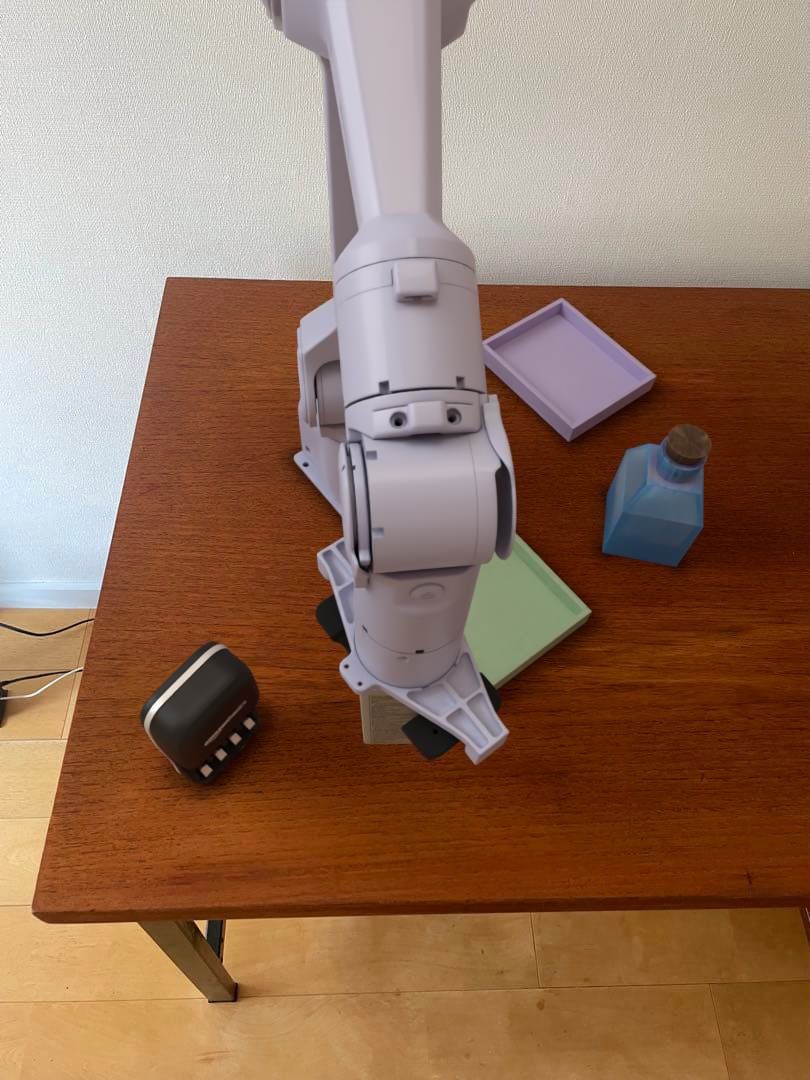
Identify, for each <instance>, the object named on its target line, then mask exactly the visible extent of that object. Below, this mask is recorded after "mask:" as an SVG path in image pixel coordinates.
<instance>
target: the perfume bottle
mask: <svg viewBox="0 0 810 1080" xmlns="http://www.w3.org/2000/svg"><path fill="white" fill-rule="evenodd" d="M711 449H712V441H711V438H710V437H709V435H708V434H707V433H706V432H705V431H704V430H703V429H702V428H700V427H699V426H695V425H693V424H684V423H683V424H677V425H676V426H674V427H672V428H671V429H670V431H669V432H668V435H667V436H666V437H664V438H663V440H662V441H661V443H660V444H654V443H646V444H643V445H642V444H641V445H639V446H636V447H632V448H628V449H626V451H625V453H624V456H623V457H622V460H621V462H620V465H619V466H618V469H617V471H616V473H615V475H614V477H613V480H612V482H611V484H610V487H608V491H607V493H606V505H605V516H604V525H603V526H604V528H603V539H602V548H601V549H602V551H601V553H603V554H608V555H614V556H618V557H623V558H629V559H633V560H639V561H644V562H649V563H655V564H659V565H664V566H665V565H666V566H669V567H675V568H676V567H678V565H679V564H680V562H681V561H682V559H683V558H684V556H685V555H686V554H687V551H688V550H689V549H690V547H691V546H692V544H693V543H694V541H695V540H696V538H697V537H698V536H699V534H700V533H701V531H702V530H703V528H704V482H705V481H704V476H705V475H704V466H705V464H706V462H707V458H708V454H709V453H710V452H711Z"/></svg>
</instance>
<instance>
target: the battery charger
mask: <svg viewBox="0 0 810 1080" xmlns="http://www.w3.org/2000/svg"><path fill="white" fill-rule="evenodd" d="M260 695H261V693H260V689H259V686H258V683H257V681H256V678H255V676H254V674H253V672H252V670H251V668H250V667H249V666H248V665H247V664H246V663H245V662H244V661H243V660H241V659H240V658H239V657H238V656H237V655H235V654H234V653H233V652H232V650H231V649H230V648H229V647H227V646H226V645H225V644H223V643H220V642H219V641H213V640H211V641H207V642H205V643H204V644H202V645H201V646H199V647H198V648H197V649H196V650H195V651H194V652H193V653H192V654H190V656H189V657H188V658H186V660H185V661H184V662H183V663H182V664H180V666H178V668H177V669H175V670H174V671H173V673H171V674H170V675H169V677H167V678H166V680H164V681H163V683H161V685H160V686H159V687H158V688H157V689H155V691H154V692H153V693H152V694H151V695H150V696H149V697H148V698H147V699H146V701H145V702H144V704H143V705H142V708H141V710H140V714H139V720H140V723H141V726H142V728H143V730H144V731H145V733H146V734H147V736H148V737H149V739H150V740H151V741H152V743H153V744H154V746H155V747H156V748H157V749H158V750H159V751H160V752H161V753H162V754H163V755H164V757H166V758H167V759H168V760H169V761H170V763H171V765H172V767H174V769H175V771H176V772H177V773H178V774H179V775H180V776H181V775H183V777H184V778H186V779H187V780H188V781H190V782H193V783H194V784H198V785H208V784H210V783H211V782H213V781H214V780H215V779H217V777H218V776H219V775H221V773H222V772H223V771H224V770H225V769H226V768H227V766H228V765H229V764H230V763H231V762H232V761H233V760H234V759H235V757H236V756H237V755H238V754H239V753H240V752H241V751H242V750H243V749H244V748H245V747H246V745H247V744H248V743H249V742H250V741H251V740H252V739H253V737H254V736H255V735H256V734H257V733H258V731H259V729H260V727H261V722H262V721H261V717H260V714H259V712H258V710H257V709H256V706H257V704H258V703H259V701H260Z"/></svg>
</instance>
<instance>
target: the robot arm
mask: <svg viewBox="0 0 810 1080" xmlns="http://www.w3.org/2000/svg"><path fill="white" fill-rule="evenodd" d="M476 1H477V0H261V4H262V5H263V6H264V7H265V12H266V13H265V14H266V16H267V17H268V18H269V20H272V24H273V28H274V30H276V31H278V32H282V33H283V36H284V38H286V39H287V40H289V41H291V42H293V43H295V44H297V45H298V46H299V47H302V48H304V49H306V50H308V51H310V52H312V53H314V56H315V57H316V59H317V62H318V64H319V66H320V69H321V80H322V100H323V117H324V118H323V121H324V141H325V158H326V178H327V179H326V180H327V201H328V216H329V237H330V256H331V257H330V258H331V276H332V279H331V280H332V295H333V296H332V298H330V299H328V300H327V301H326V302H324V303H322V304H321V305H320V306H318V307H316V308H315V309H313V310H312V311H310V312H309V313H307V314H305V315H304V316H303V317H301V318H300V320H299V326H298V328H297V329H296V337H297V349H296V356H297V357H296V358H297V371H298V382H299V393H300V398H299V401H298V406H297V415H298V425H299V433H300V434H299V435H300V443H301V451H298V452H297V453H295V454H294V456H293V461H294V463H295V464H296V466H298V468H299V469H300V470H301V471H302V473H304V475H305V476H306V477H307V478H308V479H309V480H310V482H311V483H312V484H313V485H314V486H315V488H316V489H317V490H318V491H319V492H320V493H321V494H322V496H323V497H324V498H325V499H326V500H327V502H328V503H329V504H330V505H331V506H332V507H333V508H334V510H335V511H336V512H337V513H338V514H339V515H340V517H341V521H342V534H343V537H341V538H339V539H338V540H336V541H334V542H333V543H331V544H330V545H328V546H327V547H325V548H323V549H321V550H320V551H318V552H317V553H316V559H317V569H318V571H319V573H320V574H321V575H322V576H323V578H324V579H325V580H326V581H328V582H329V583H330V585H331V588H332V594H331V595H330V596H328V597H326V598H325V599H323V600H321V602H319V603H318V605H317V606H316V609H315V620H316V622H317V623H318V624H319V626H320V627H321V628H322V630H323V631H324V632H325V634H326V635H327V636H328V637H329V639H330V640H331V641H332V642H333V643H337V644H339V645H341V646H343V648H344V649H345V651H346V653H347V656H346V657H345V658H343V659H342V660H341V662H340V663H339V667H338V668H339V673H340V676H341V678H342V679H343V680H344V681H345V683H346V684H347V685H348V687H349V688H350V689H351V690H352V692H353V693H354V694H356V695H358V696H360V695H364V694H366V693H368V692H369V691H371V690H373V689H380V690H382V691H384V692H385V693H387V694H388V695H390V696H392V697H393V698H395V699H396V700H398V701H400V702H401V703H403V704H404V705H406V706H408V707H409V708H411V709H412V710H414V711H416V712H417V713H419V714H418V715H417V716H415V717H414V718H413V719H411V720H410V721H409V722H407V723H406V724H405V725H403V726H402V727H401V730H402V731H403V732H404V734H405V735H406V736H407V738H408V739H409V740H410V741H411V743H410V744H412V745H413V747H414V748H415V749H416V751H417V752H418V753H419V755H421V756H422V757H423V758H424V759H426V760H427V761H433V760H436V759H439V758H440V757H442V756H443V755H445V754H446V753H447V752H449V751H450V750H451V749H453V748H454V747H455V746H457V745H458V744H459V743H461V742H462V743H463V744H464V745H465V747H464V752H465V753H466V755H467V757H468V758H469V760H470V761H471V762H472V763H473V764H474V765H475V766H477V765H479V764H480V763H481V762H483V761H484V760H485V759H487V758H488V757H489V756H490V755H492V754H493V753H494V752H495V751H496V750H498V749H499V748H501V747H502V746H503V745H504V744H505V742H506V740H507V738H508V736H509V734H510V730H509V729H508V728H507V727H506V725H505V724H504V723H503V721H502V720H501V718H500V717H499V715H498V713H499V711H500V710H501V706H502V697H501V694H500V692H499V691H498V689H496V688H495V687H494V686H493V685H492V684H491V682H490V681H489V680H488V679H487V678H486V677H485V675H484V674H483V673H481V672H479V670H478V668H477V665H476V663H475V660H474V657H473V655H472V652H471V649H470V647H469V644H468V642H467V639H466V636H465V634H464V629H465V625H466V621H467V618H468V614H469V610H470V606H471V602H472V598H473V594H474V591H475V587H476V583H477V579H478V575H479V571H480V567H481V564H488V563H489V562H490V561H491V559H492V557H493V554H494V551H495V553H496V555H497V556H498V557H499V558H500V559H501V560H507V559H508V558H509V556H510V554H511V552H512V549H513V545H514V539H515V533H516V530H517V529H516V528H517V489H516V488H517V487H516V477H515V470H514V469H515V468H514V462H513V456H512V451H511V447H510V443H509V438H508V435H507V433H506V430H505V427H504V423H503V419H502V415H501V407H500V406H501V405H500V402H499V399H498V394H497V393H494V394H493V393H492V394H488V388H487V379H486V378H487V377H486V367H485V366H486V365H485V364H484V354H483V343H482V341H483V333H482V332H483V331H482V324H481V323H482V322H481V313H480V312H481V311H480V300H479V287H478V278H477V267H476V266H477V265H476V257H475V254H474V252H473V251H472V249H471V248H470V247H469V246H468V245H467V244H466V243H465V241H463V240H462V239H461V238H460V237H459V236H457V235H456V234H455V233H454V232H453V231H452V230H451V229H450V228H449V227H448V226H447V225H446V224H445V222H444V221H443V220H444V219H443V125H442V124H443V122H442V121H443V120H442V118H443V115H442V114H443V113H442V111H443V110H442V109H443V107H442V106H443V105H442V95H443V94H442V93H443V92H442V91H443V90H442V50H443V49H445V48H446V47H448V46H450V45H451V44H452V43H453V42H456V41H457V40H458V39H460V38H461V37H462V36H464V34H465V31H466V28H467V23H468V20H469V19H468V18H469V14H470V9H471V7H472V6H473V5H474V4H475V2H476Z"/></svg>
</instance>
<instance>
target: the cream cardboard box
mask: <svg viewBox="0 0 810 1080" xmlns="http://www.w3.org/2000/svg"><path fill="white" fill-rule="evenodd" d="M359 703H360V716H361V723H362V724H361V726H362V728H361V729H362V738H363V743H364V744H366V745H405V744H406V745H407V744H408V745H409V744H412V743H411V741H410V740H409V739H408V738H407V736H406V735H405V734H404V732H403V731H402V730H401V727H402V726H403V725H405V724H406V723H407V722H409V721H410V720H411V719H413V718H414V717H415V716H417V715H418V714H419V713H417V712H416V711H414V710H412V709H411V708H409V707H408V706H406V705H404V704H403V703H401V702H400V701H398V700H396V699H395V698H393V697H392V696H390V695H388V694H387V693H385V692H384V691H382V690H380V689H373V690H371V691H369V692H368V693H366V694H364V695H359Z"/></svg>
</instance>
